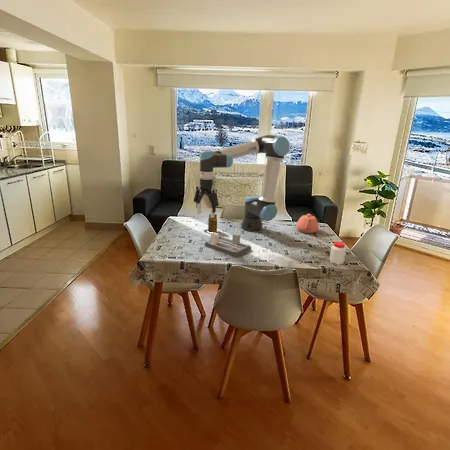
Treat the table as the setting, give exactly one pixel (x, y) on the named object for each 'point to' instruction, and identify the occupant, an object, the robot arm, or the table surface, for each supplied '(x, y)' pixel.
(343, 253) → the pill bottle
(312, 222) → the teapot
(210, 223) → the condiment
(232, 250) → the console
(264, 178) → the robot arm
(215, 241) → the block
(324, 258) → the table surface
